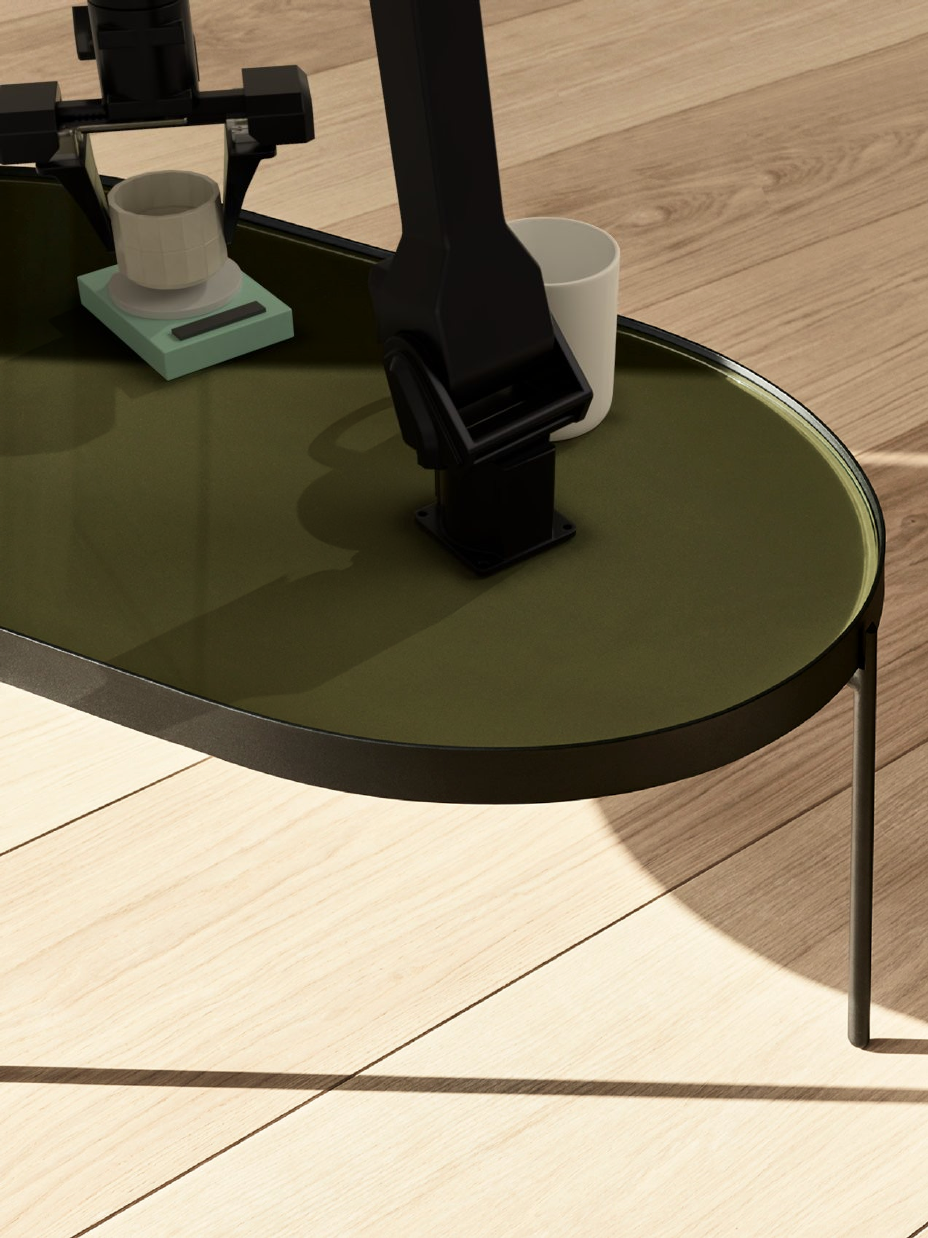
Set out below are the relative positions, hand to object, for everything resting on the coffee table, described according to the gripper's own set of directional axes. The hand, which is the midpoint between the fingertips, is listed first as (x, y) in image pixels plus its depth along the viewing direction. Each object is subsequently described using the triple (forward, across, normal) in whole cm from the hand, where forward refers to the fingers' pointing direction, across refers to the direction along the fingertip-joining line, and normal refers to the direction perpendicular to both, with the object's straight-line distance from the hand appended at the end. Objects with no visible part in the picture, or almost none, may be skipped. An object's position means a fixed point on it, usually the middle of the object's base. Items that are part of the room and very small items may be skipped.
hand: (171, 245), depth 105 cm
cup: (+5, -20, +13) cm, 24 cm away
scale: (+5, 0, +1) cm, 5 cm away
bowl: (+2, 0, 0) cm, 2 cm away
